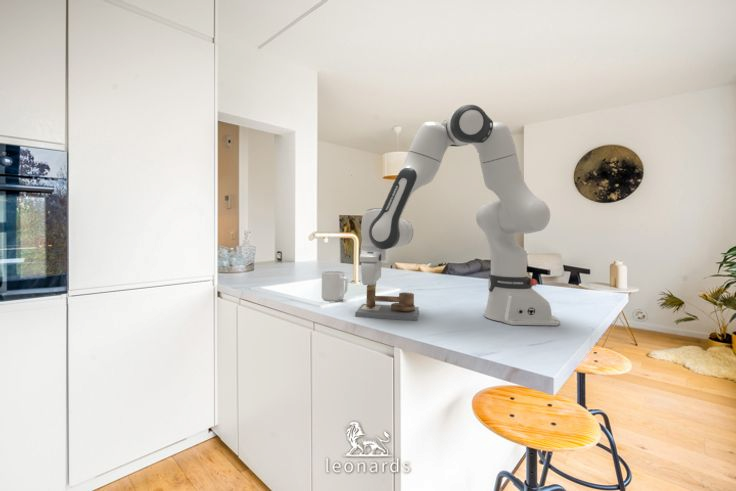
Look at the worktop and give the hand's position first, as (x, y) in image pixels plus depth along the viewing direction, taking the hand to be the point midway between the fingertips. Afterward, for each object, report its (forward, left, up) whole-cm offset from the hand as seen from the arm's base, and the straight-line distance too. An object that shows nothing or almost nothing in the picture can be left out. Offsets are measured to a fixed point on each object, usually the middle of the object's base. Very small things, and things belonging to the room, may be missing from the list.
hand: (372, 294), depth 122 cm
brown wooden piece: (-7, +4, -4) cm, 9 cm away
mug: (+17, -13, -6) cm, 22 cm away
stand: (-6, +4, -6) cm, 9 cm away
